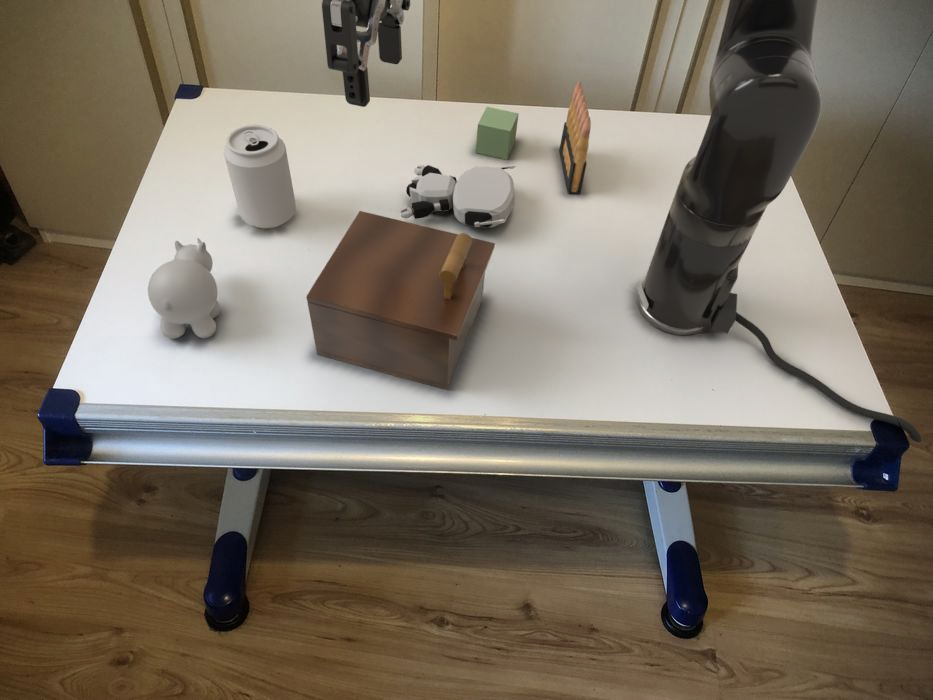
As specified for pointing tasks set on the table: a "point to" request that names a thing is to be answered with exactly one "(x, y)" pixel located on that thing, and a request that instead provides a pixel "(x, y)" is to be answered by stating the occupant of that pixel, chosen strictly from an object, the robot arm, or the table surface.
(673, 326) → the robot arm
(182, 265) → the chubby cartoon animal
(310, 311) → the chest
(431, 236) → the lid
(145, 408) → the table surface
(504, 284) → the table surface
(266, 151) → the can
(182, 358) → the table surface
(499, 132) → the block
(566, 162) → the ammunition clip
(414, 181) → the robot toy
